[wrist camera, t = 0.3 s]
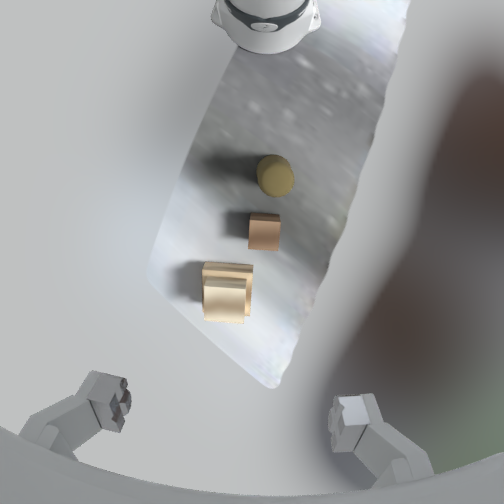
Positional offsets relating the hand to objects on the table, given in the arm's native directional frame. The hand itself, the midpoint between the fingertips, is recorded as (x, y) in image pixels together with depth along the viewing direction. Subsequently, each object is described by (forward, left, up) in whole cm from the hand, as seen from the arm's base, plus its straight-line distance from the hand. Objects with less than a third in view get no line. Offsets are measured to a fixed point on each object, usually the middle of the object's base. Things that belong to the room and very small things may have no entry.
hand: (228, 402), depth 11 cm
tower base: (+19, -4, -46) cm, 50 cm away
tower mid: (+19, -4, -42) cm, 47 cm away
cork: (-3, +3, -46) cm, 46 cm away
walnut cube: (+7, +2, -46) cm, 47 cm away
